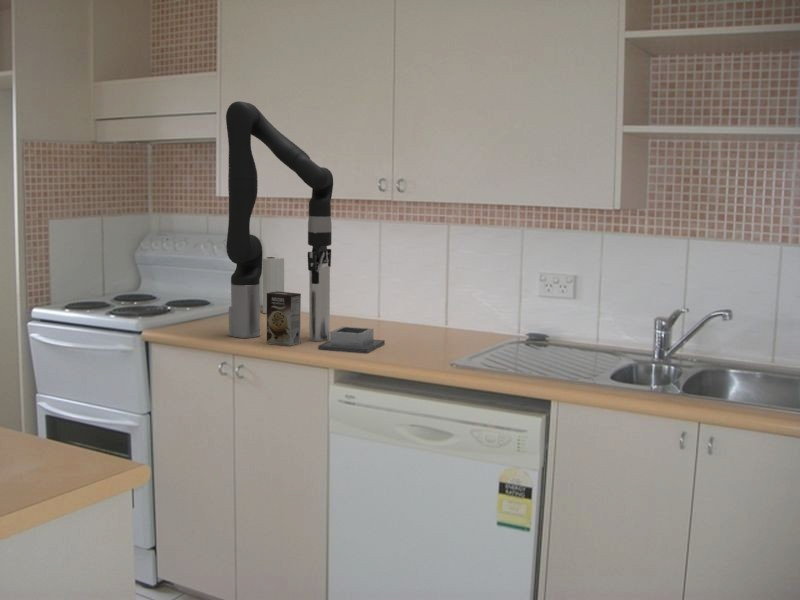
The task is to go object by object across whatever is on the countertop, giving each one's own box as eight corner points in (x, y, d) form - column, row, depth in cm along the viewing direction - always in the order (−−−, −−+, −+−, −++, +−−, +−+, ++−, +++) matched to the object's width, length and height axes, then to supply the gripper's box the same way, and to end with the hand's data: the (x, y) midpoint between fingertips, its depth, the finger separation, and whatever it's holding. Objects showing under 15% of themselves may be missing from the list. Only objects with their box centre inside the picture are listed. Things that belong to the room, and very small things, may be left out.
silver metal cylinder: (326, 342, 286) (326, 264, 282) (306, 340, 287) (306, 263, 283) (331, 338, 292) (332, 262, 289) (312, 337, 293) (312, 261, 290)
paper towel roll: (259, 313, 342) (259, 257, 339) (271, 311, 346) (271, 256, 343) (272, 315, 337) (272, 258, 334) (284, 313, 342) (284, 257, 339)
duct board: (318, 349, 274) (318, 332, 273) (337, 340, 289) (337, 324, 288) (367, 353, 269) (367, 336, 268) (384, 344, 284) (384, 327, 283)
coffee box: (265, 343, 282) (265, 292, 279) (277, 340, 287) (276, 290, 285) (290, 346, 278) (290, 295, 275) (301, 343, 283) (301, 292, 281)
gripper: (317, 228, 292) (317, 279, 295) (299, 231, 279) (299, 284, 281) (339, 229, 290) (338, 280, 292) (321, 232, 277) (321, 285, 279)
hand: (319, 282), depth 287 cm, fingers closed on silver metal cylinder, 6 cm apart
